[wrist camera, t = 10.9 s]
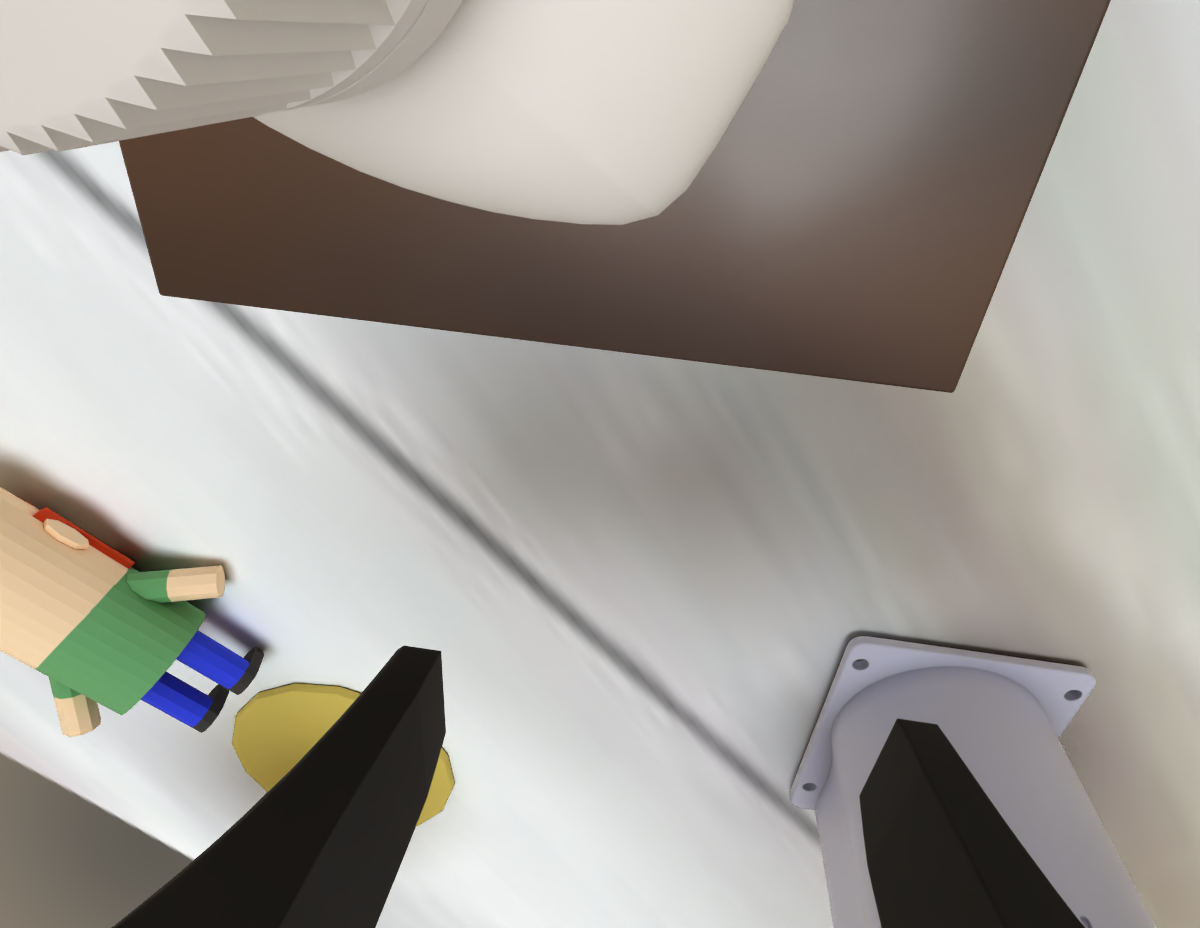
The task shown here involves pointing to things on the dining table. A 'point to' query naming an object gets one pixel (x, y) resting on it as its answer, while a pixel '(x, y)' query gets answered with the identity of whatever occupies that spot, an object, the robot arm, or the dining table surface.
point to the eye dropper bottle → (408, 88)
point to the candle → (306, 735)
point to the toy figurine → (108, 623)
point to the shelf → (684, 210)
